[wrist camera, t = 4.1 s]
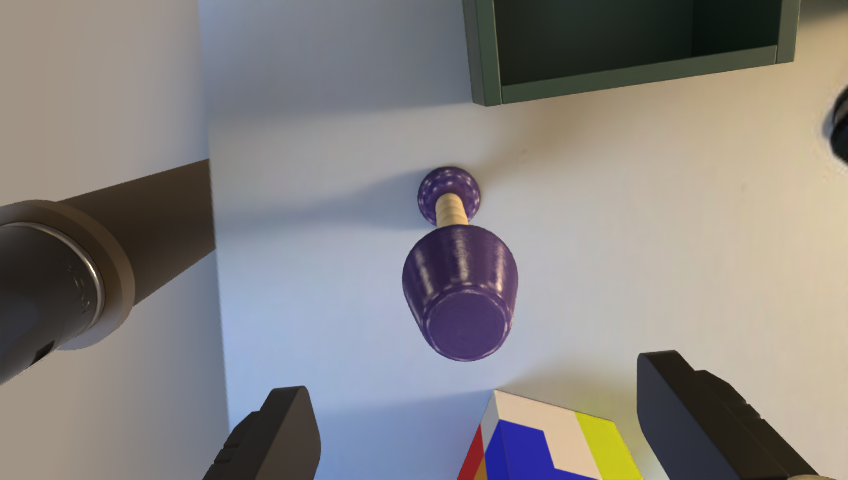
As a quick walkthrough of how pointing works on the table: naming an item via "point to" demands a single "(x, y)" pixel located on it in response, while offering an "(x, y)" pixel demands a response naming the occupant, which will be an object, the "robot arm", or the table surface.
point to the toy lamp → (459, 272)
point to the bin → (617, 43)
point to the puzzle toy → (545, 444)
